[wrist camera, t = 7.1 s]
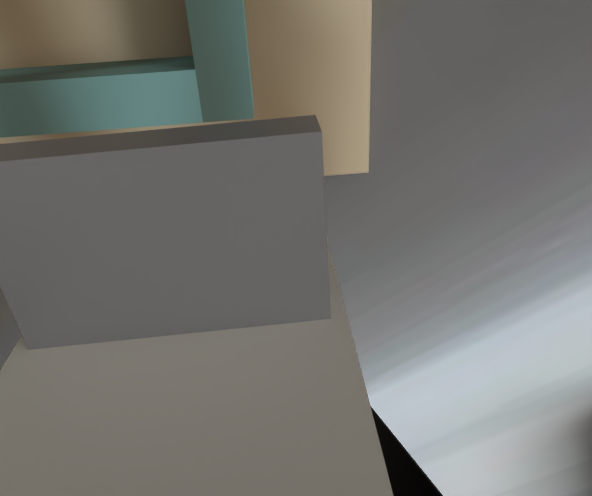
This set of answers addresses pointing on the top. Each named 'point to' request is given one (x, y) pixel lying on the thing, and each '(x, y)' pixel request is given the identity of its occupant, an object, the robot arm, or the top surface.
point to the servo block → (178, 319)
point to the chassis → (186, 68)
